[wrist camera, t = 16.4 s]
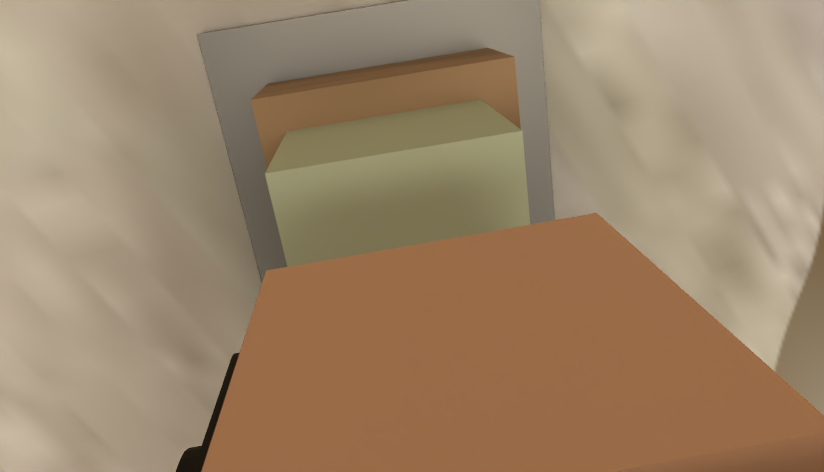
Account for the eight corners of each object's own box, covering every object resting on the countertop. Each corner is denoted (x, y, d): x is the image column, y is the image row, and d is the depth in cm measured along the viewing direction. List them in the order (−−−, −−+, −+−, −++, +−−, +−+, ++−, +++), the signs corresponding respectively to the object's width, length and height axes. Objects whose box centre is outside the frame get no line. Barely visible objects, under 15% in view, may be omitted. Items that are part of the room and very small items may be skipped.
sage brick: (499, 274, 21) (540, 352, 16) (325, 305, 21) (317, 391, 16) (481, 99, 19) (522, 130, 14) (286, 131, 19) (264, 173, 14)
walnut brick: (507, 249, 25) (534, 292, 22) (313, 283, 25) (306, 332, 21) (487, 47, 22) (514, 56, 19) (267, 83, 22) (250, 100, 18)
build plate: (553, 277, 27) (559, 285, 26) (278, 325, 26) (275, 334, 26) (531, -20, 22) (537, -21, 22) (202, 33, 22) (196, 34, 21)
